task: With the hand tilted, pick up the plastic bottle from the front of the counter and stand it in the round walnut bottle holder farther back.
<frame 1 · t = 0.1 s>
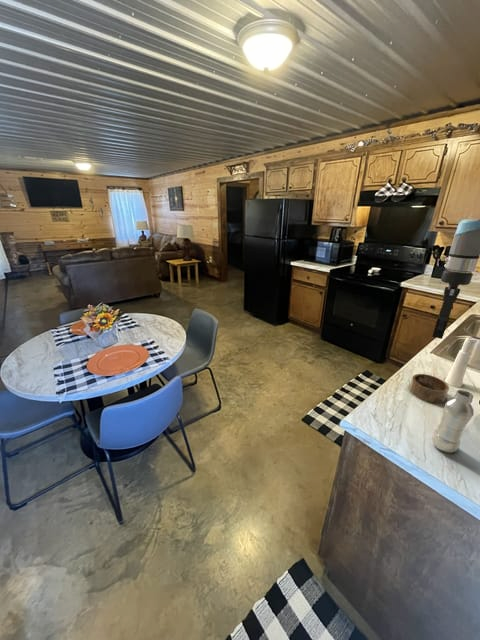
hand: (438, 331, 92), 29 cm above the counter, tool pointing down, fingers open, 13 cm apart
cosmetic bottle: (452, 385, 111), on the counter
plastic bottle: (442, 447, 81), on the counter
holder: (425, 396, 104), on the counter
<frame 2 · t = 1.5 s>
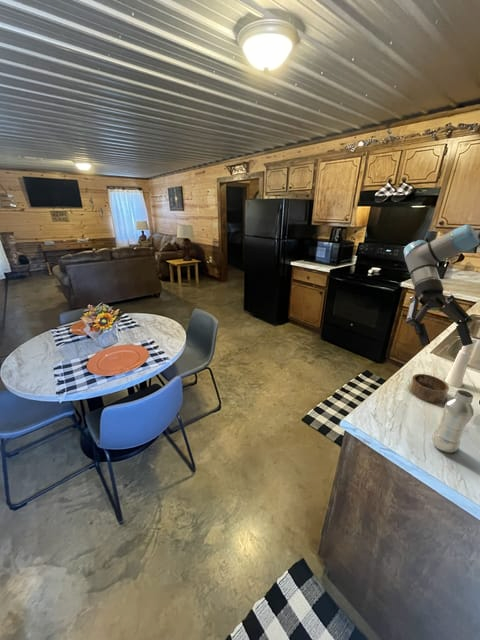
hand: (447, 344, 79), 30 cm above the counter, tool tilted 45°, fingers open, 13 cm apart
nothing on the counter moved.
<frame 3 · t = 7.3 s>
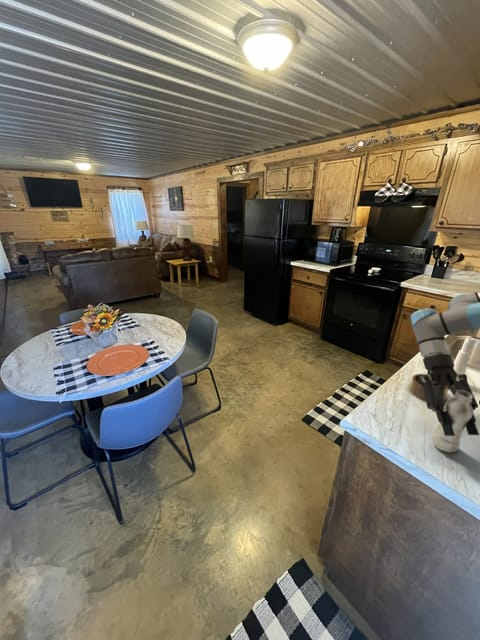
hand: (461, 435, 74), 8 cm above the counter, tool tilted 45°, fingers closed on plastic bottle, 6 cm apart
plastic bottle: (442, 447, 81), on the counter, touching gripper
everything else where it was.
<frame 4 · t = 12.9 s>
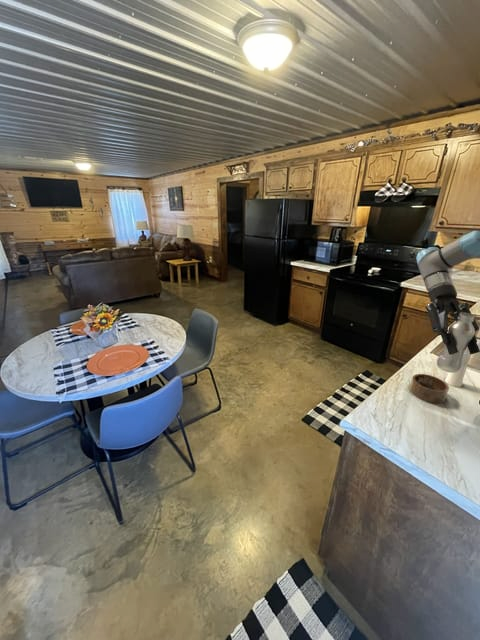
hand: (464, 353, 82), 26 cm above the counter, tool tilted 45°, fingers closed on plastic bottle, 6 cm apart
plastic bottle: (446, 370, 88), point 18 cm above the counter, touching gripper
everything else where it was.
when the fingers open (9 cm above the counter, at t = 18.5 s): plastic bottle stays where it is, resting on holder.
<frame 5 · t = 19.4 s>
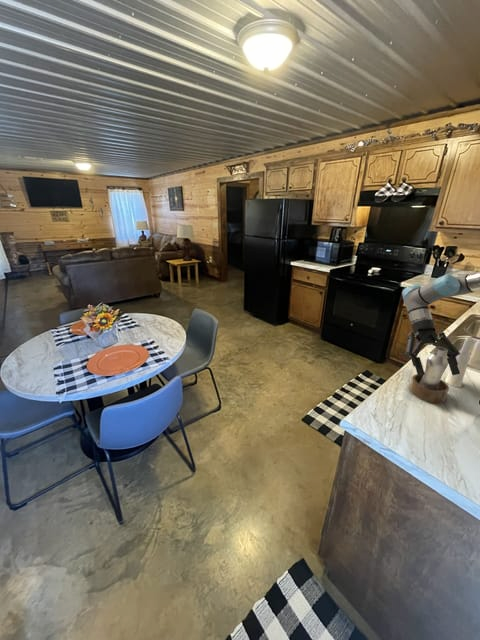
hand: (438, 374, 97), 11 cm above the counter, tool tilted 45°, fingers open, 13 cm apart
plastic bottle: (425, 394, 103), point 1 cm above the counter, touching holder
everything else where it was.
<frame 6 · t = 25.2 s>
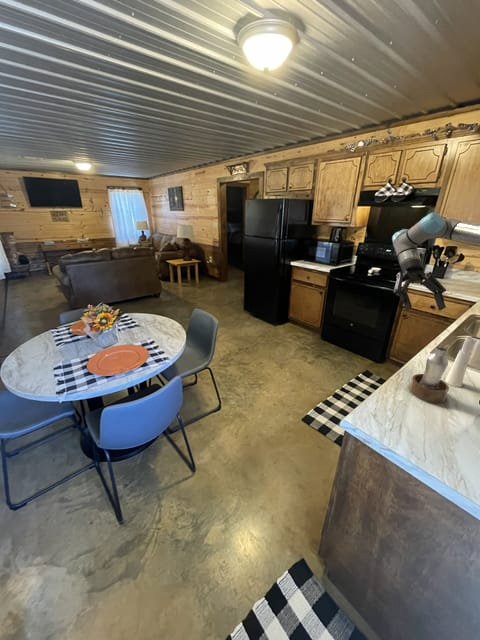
hand: (425, 309, 102), 33 cm above the counter, tool tilted 45°, fingers open, 13 cm apart
nothing on the counter moved.
at the end: plastic bottle 0.1 cm off-centre in the holder, point 0.8 cm above the holder's base; plastic bottle tilted 0°; the gripper is holding nothing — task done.
